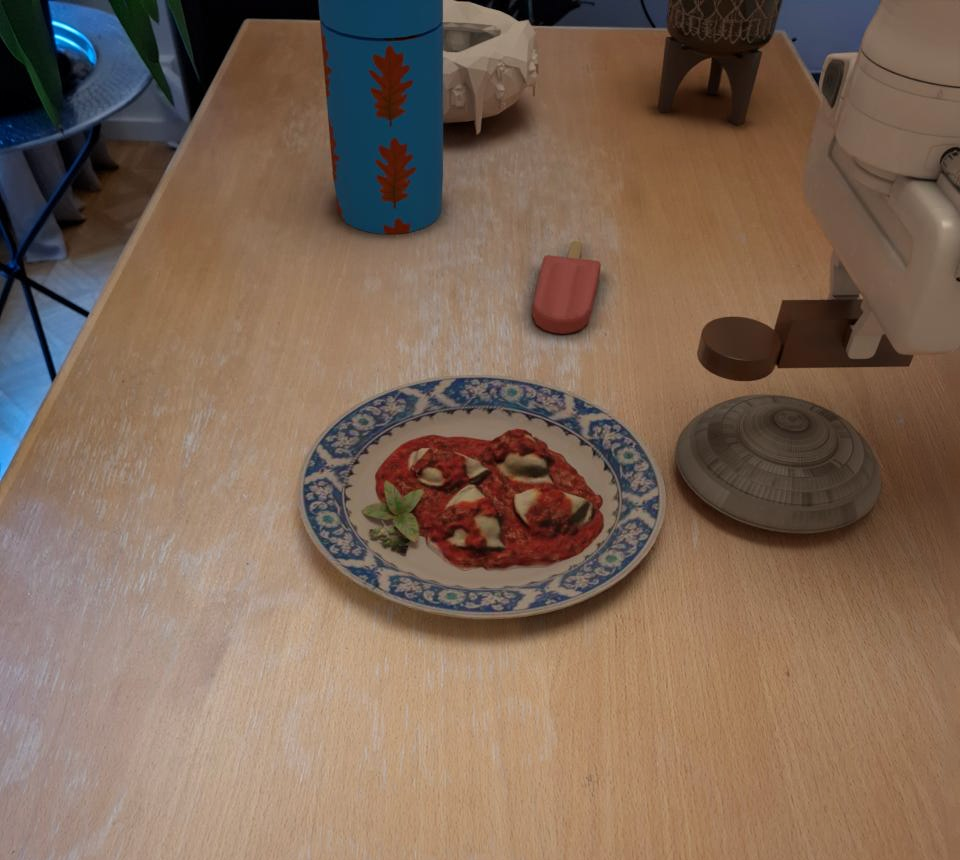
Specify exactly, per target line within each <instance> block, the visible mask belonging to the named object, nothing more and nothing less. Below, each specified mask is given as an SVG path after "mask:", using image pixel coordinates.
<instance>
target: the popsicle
mask: <svg viewBox="0 0 960 860" xmlns="http://www.w3.org/2000/svg"><path fill="white" fill-rule="evenodd" d="M582 249H583V243H582V242H581V241H577V240H575V241H574V240H573V241H571V242H570V245H569V248H568V253H567V256H559V255H551V254H549V255H548V254H546V255H544V257H543V259H542V262H541V267H540V271H539V274H538V279H537V282H536V283H537V284H536V288H535V292H534V298H533V303H532V312H531V313H532V314H531V315H532V317H533V320H534V322H535V325H537V326H538V327H539V328H540V329H542V330H543V331H547V332H549V333H554V334H561V335H563V334H573V333H575V332H579V331H581V330H582V329H583V328H585V326H586V325H587V324H588V323H589V322H590V317H591V314H592V310H593V305H594V303H595V299H596V294H597V289H598V285H599V281H600V274H601V268H602V267H601V266H602V264H601V261H599V260H593V259H584V258H583V259H582V258H581V254H582Z"/></svg>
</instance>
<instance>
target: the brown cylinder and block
mask: <svg viewBox="0 0 960 860" xmlns="http://www.w3.org/2000/svg"><path fill="white" fill-rule="evenodd" d="M862 300H863V298H861V299H843V300H827V299H782V300H781V304H780V306H779V311H778V314H777V318H776V321H775V325H774V328H773V327H771V326H770V325H768V324H766V323H764V322H761V321H759V320H757V319H753V318H750V317H744V316H722V317H718V318H714V319H712V320H711V321H708V322H707V323H706V324H705V325H704V326H703V328H702V330H701V332H700V338H699V343H698V346H697V351H696V356H697V360H698V362H699V363H700V365H701V366H702V367H703V368H704V369H705V370H706V371H708V372H709V373H711V374H713V375H714V376H717V377H719V378H722V379H725V380H729V381H735V382H754V381H760V380H762V379H765V378H767V377H768V376H770V375H771V374H772V373H773V372H774V370H775V369H776V367H777V369H834V368H835V369H836V368H837V369H838V368H839V369H840V368H902V367H903V368H905V367H908V368H909V367H910V366H911V363H912V361H913V360H914V356H915V355H903V354H899V353H898V352H897V351H896V350H895V349H894V348H893V346H892V344H891V343H890V341H889V339H888V338H887V336H886V334H884V335H882V337H881V339H880V342H879V345H878V347H877V350H876V352H875V354H874V355H873V356H872V357H871V358H868V359H851V358H849V357H848V355H847V353H846V351H845V349H844V347H843V345H842V339H843V337H844V335H845V330H846V327H847V324H848V323H855V322H857V321H858V319H859V318H860V317H861V315H862V314H863V312H864V311H862V309H861V303H862Z"/></svg>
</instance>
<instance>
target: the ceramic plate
mask: <svg viewBox="0 0 960 860" xmlns="http://www.w3.org/2000/svg"><path fill="white" fill-rule="evenodd" d="M297 479H298V480H297V494H296V495H297V505H298V509H299V514H300V517H301V520H302V523H303V525H304V528H305V531H306V532H307V534H308V536H309V538H310V540H311V542H312V543H313V544H314V546H315V547H316V549H317V550H318V551H319V553H320V554H321V555H322V556H323V558H324V559H326V561H327V562H328V563H329V564H330V565H331V566H332V567H333V568H335V569H336V570H337V571H338V572H339V573H340V574H342V575H343V576H344V577H346V578H348V579H349V580H350V581H352V582H353V583H355V584H356V585H357V586H359V587H361V588H362V589H364V590H366V591H368V592H370V593H372V594H374V595H376V596H379V597H380V598H382V599H384V600H387V601H389V602H392V603H395V604H397V605H400V606H403V607H406V608H408V609H412V610H416V611H420V612H424V613H427V614H433V615H439V616H442V617H443V616H444V617H450V618H461V619H470V620H505V619H507V620H508V619H516V618H525V617H531V616H538V615H542V614H547V613H552V612H554V611H559V610H563V609H566V608H568V607H572V606H575V605H577V604H579V603H583V602H584V601H587V600H589V599H591V598H593V597H595V596H598V595H600V594H601V593H603V592H604V591H606V590H608V589H610V588H612V587H613V586H614V585H616V584H617V583H619V582H620V581H621V580H622V579H624V578H625V577H627V576H628V575H629V574H630V573H631V572H632V571H633V570H634V569H636V568H637V566H638V565H639V564H640V563H641V562H642V561H643V559H644V558H646V556H647V555H648V553H649V552H650V550H651V549H652V547H653V546H654V544H655V542H656V540H657V538H658V536H659V534H660V531H661V529H662V525H663V522H664V520H665V514H666V509H667V508H666V507H667V500H666V499H667V498H666V497H667V496H666V495H667V494H666V487H665V486H666V485H665V481H664V478H663V475H662V471H661V468H660V466H659V464H658V461H657V460H656V458H655V456H654V455H653V453H652V451H651V450H650V448H649V447H648V446H647V444H646V443H645V442H644V440H643V439H642V438H641V436H639V434H637V433H636V432H635V431H634V430H633V428H631V427H630V426H629V425H628V424H627V423H625V422H624V421H623V420H622V419H620V418H619V417H618V416H617V415H615V414H614V413H613V412H611V411H610V410H608V409H606V408H604V407H603V406H602V405H600V404H597V403H596V402H594V401H592V400H591V399H588V398H586V397H585V396H583V395H580V394H577V393H575V392H572V391H570V390H566V389H564V388H561V387H558V386H555V385H552V384H548V383H544V382H540V381H536V380H532V379H526V378H521V377H520V378H519V377H512V376H507V375H495V374H494V375H493V374H459V375H447V376H438V377H437V376H436V377H428V378H424V379H419V380H416V381H413V382H408V383H405V384H400V385H398V386H394V387H391V388H389V389H386V390H384V391H380V392H378V393H375V394H374V395H371V396H369V397H367V398H365V399H363V400H362V401H359V402H358V403H357V404H355V405H353V406H351V407H350V408H349V409H347V410H346V411H344V412H342V413H341V414H340V415H338V416H337V417H335V418H334V419H333V420H332V421H331V422H330V423H329V424H328V425H327V426H326V427H325V428H324V429H323V430H322V431H321V432H320V434H318V436H317V438H316V439H315V440H314V441H313V443H312V444H311V445H310V447H309V449H308V451H307V453H306V455H305V456H304V459H303V461H302V464H301V467H300V470H299V474H298V478H297Z"/></svg>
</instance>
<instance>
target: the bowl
mask: <svg viewBox="0 0 960 860" xmlns="http://www.w3.org/2000/svg"><path fill="white" fill-rule="evenodd" d="M539 71H540V70H539V43H538V40H537V33H536V31H535V29H534V27H533V26H532V25H531V23H530V20H529V19H525V20H520V21H519V20H517V19H516V18H514V17H513V16H511V15H510V14H507V13H505V12H503V11H500V10H497V9H493V8H489V7H485V6H483V5H479V4H477V3H473V2H471V1H458V0H443V124H451V123H453V124H454V123H462V122H463V123H464V122H465V123H466V122H473V121H474V127H475V128H474V129H475V131H476V132H475V133H476V135H479V134H480V133H481V130H482V121H483V120H482V119H486V118H489V117H493V116H497V115H499V114H500V113H502V112H503V111H505V110H507V109H508V108H510V107H511V106H513V105H514V104H516V102H517V101H518V100H519V99H520V97H521V96H522V93H523V92H524V91H525V89H526V88H527V87H532V96H533V97H536V95H535V94H536V87H537V86H538V77H539Z"/></svg>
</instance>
